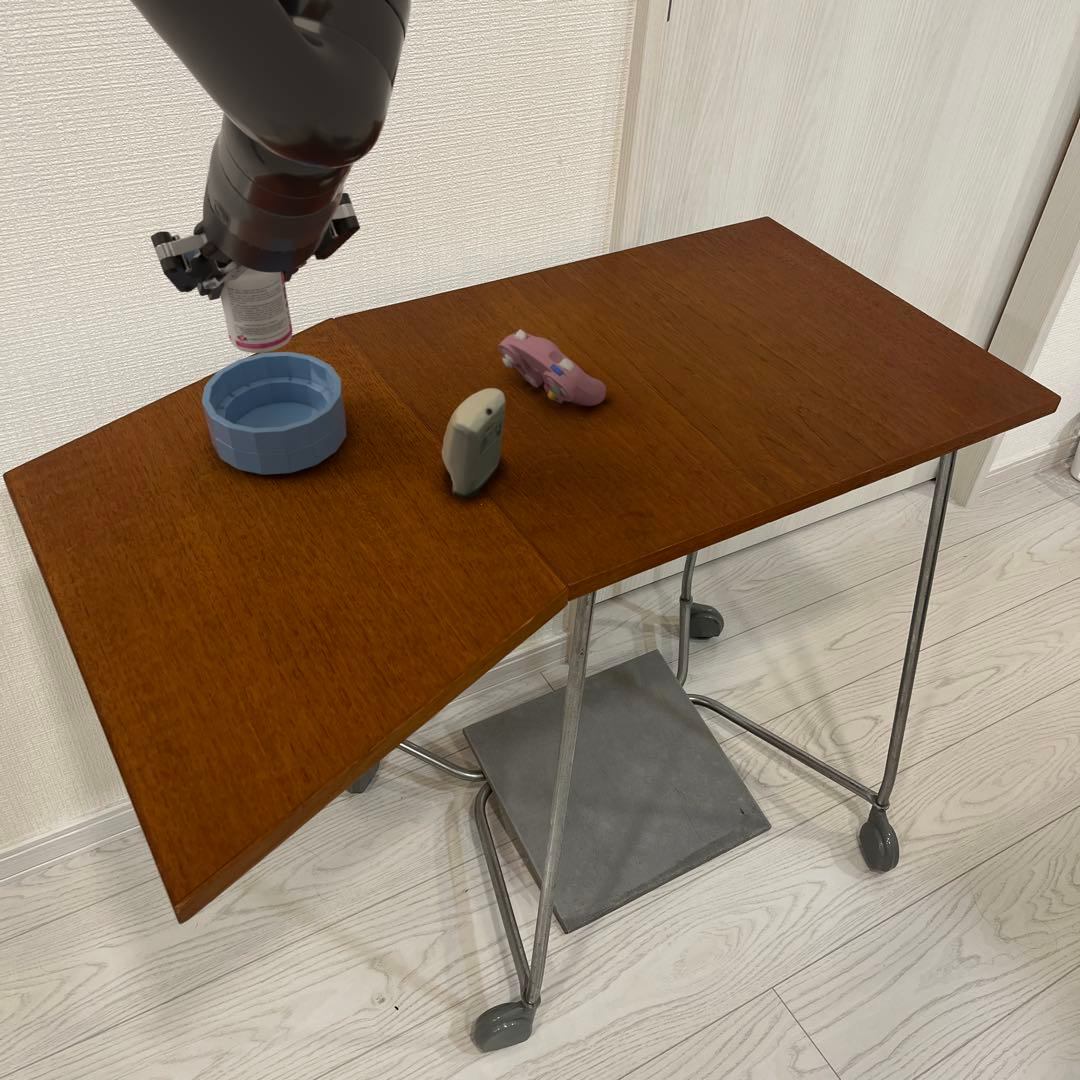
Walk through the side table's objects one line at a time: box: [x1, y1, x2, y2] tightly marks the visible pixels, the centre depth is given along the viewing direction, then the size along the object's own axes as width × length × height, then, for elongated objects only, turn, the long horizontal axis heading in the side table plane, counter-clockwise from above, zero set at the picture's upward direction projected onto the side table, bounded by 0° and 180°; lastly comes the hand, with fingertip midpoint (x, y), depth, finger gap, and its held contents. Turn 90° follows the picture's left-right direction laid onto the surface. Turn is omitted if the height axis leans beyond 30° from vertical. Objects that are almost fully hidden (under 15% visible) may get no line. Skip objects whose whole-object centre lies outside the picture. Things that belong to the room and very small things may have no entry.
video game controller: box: [497, 329, 607, 407], centre depth 91 cm, size 10×5×7 cm, turn 43°
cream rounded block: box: [441, 387, 507, 500], centre depth 81 cm, size 6×5×8 cm
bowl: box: [201, 351, 347, 476], centre depth 86 cm, size 11×11×5 cm
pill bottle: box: [220, 269, 294, 354], centre depth 75 cm, size 5×5×8 cm
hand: (244, 278), depth 76 cm, fingers closed on pill bottle, 4 cm apart
